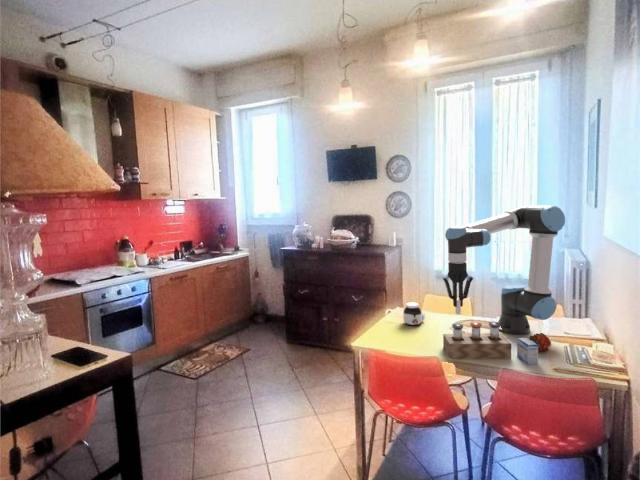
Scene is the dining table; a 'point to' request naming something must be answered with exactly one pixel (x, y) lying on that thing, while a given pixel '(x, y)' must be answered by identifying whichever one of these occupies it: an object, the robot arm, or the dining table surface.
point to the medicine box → (527, 351)
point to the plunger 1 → (457, 331)
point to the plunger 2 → (475, 331)
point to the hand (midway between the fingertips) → (458, 313)
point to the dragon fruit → (541, 341)
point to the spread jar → (413, 314)
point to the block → (477, 347)
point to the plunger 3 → (494, 330)
